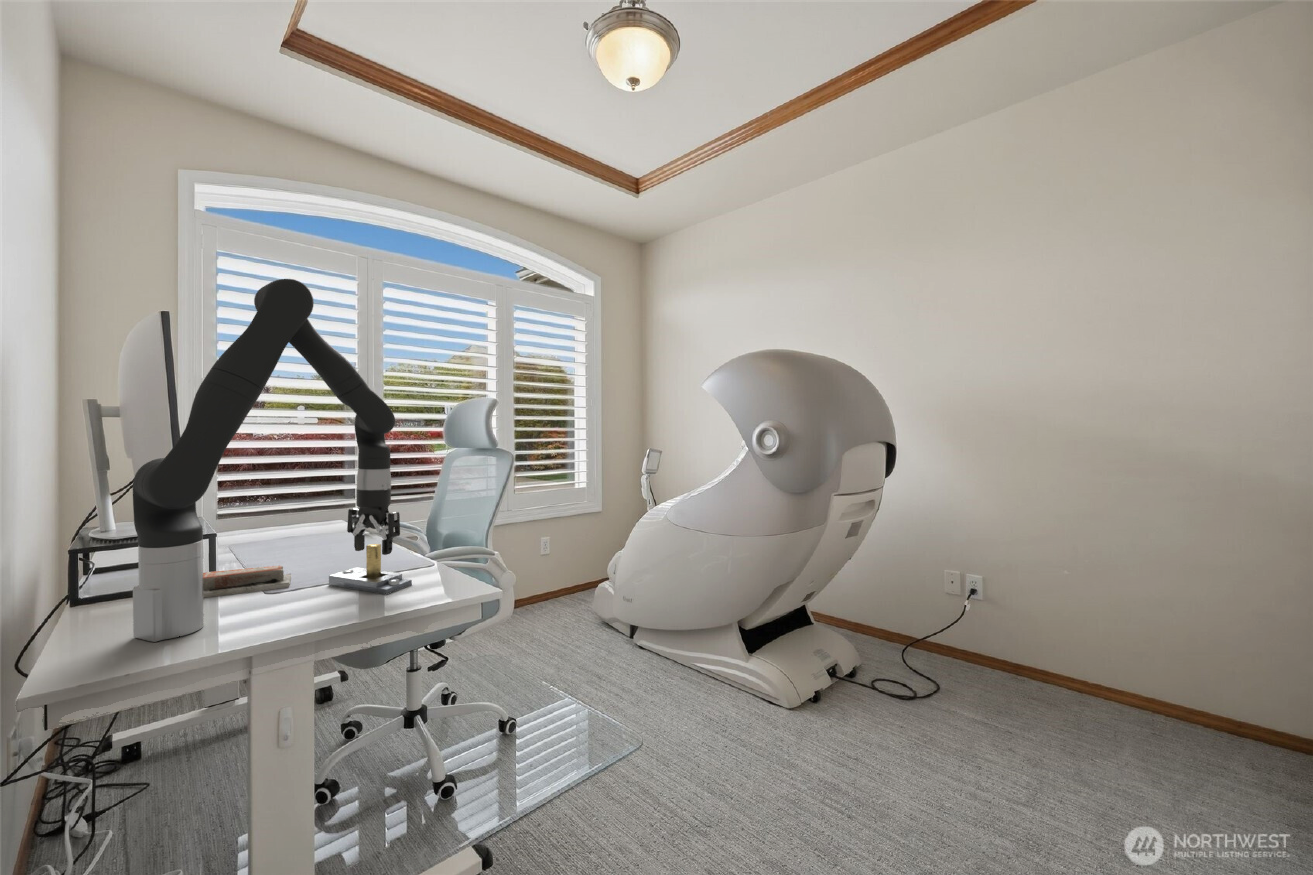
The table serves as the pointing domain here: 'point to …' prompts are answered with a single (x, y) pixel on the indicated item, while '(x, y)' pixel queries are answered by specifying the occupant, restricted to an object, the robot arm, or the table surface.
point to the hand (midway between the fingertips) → (373, 552)
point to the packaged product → (244, 580)
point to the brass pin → (373, 561)
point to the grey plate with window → (369, 581)
